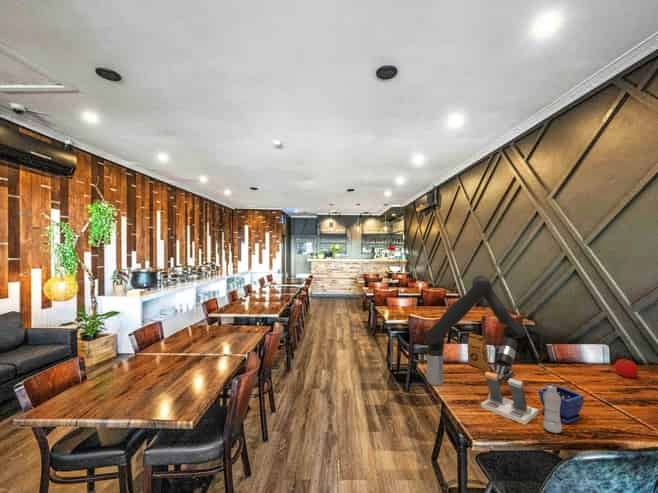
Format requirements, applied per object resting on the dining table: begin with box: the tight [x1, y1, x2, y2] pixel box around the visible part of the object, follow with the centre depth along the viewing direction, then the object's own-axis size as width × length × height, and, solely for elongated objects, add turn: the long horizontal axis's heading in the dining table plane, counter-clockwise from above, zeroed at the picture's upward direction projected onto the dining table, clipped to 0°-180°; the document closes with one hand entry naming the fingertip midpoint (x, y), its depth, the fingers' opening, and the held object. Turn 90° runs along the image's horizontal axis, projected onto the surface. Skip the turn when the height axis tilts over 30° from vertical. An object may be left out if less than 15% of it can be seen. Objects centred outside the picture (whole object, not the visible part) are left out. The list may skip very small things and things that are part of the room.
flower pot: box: [538, 385, 585, 425], centre depth 142 cm, size 13×13×12 cm
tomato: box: [614, 358, 639, 379], centre depth 189 cm, size 10×11×11 cm
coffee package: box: [466, 333, 489, 370], centre depth 208 cm, size 10×12×22 cm
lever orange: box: [484, 371, 503, 403], centre depth 151 cm, size 2×5×16 cm, turn 37°
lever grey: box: [507, 378, 528, 412], centre depth 143 cm, size 2×5×16 cm, turn 37°
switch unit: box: [480, 393, 539, 426], centre depth 148 cm, size 16×20×5 cm
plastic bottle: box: [543, 383, 563, 434], centre depth 131 cm, size 6×7×20 cm
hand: (496, 386), depth 152 cm, fingers closed
